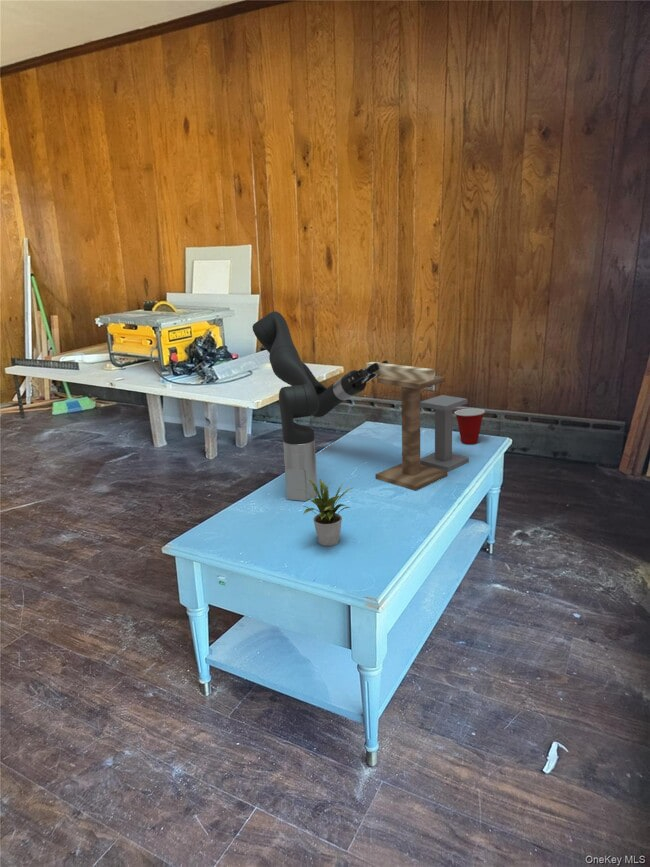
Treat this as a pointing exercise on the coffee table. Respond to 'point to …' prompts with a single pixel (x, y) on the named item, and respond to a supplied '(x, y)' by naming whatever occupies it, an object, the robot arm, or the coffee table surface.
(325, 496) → the house plant
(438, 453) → the charcoal stand
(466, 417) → the plastic cup
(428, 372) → the birch block
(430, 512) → the coffee table surface
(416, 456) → the walnut stand
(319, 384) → the robot arm
